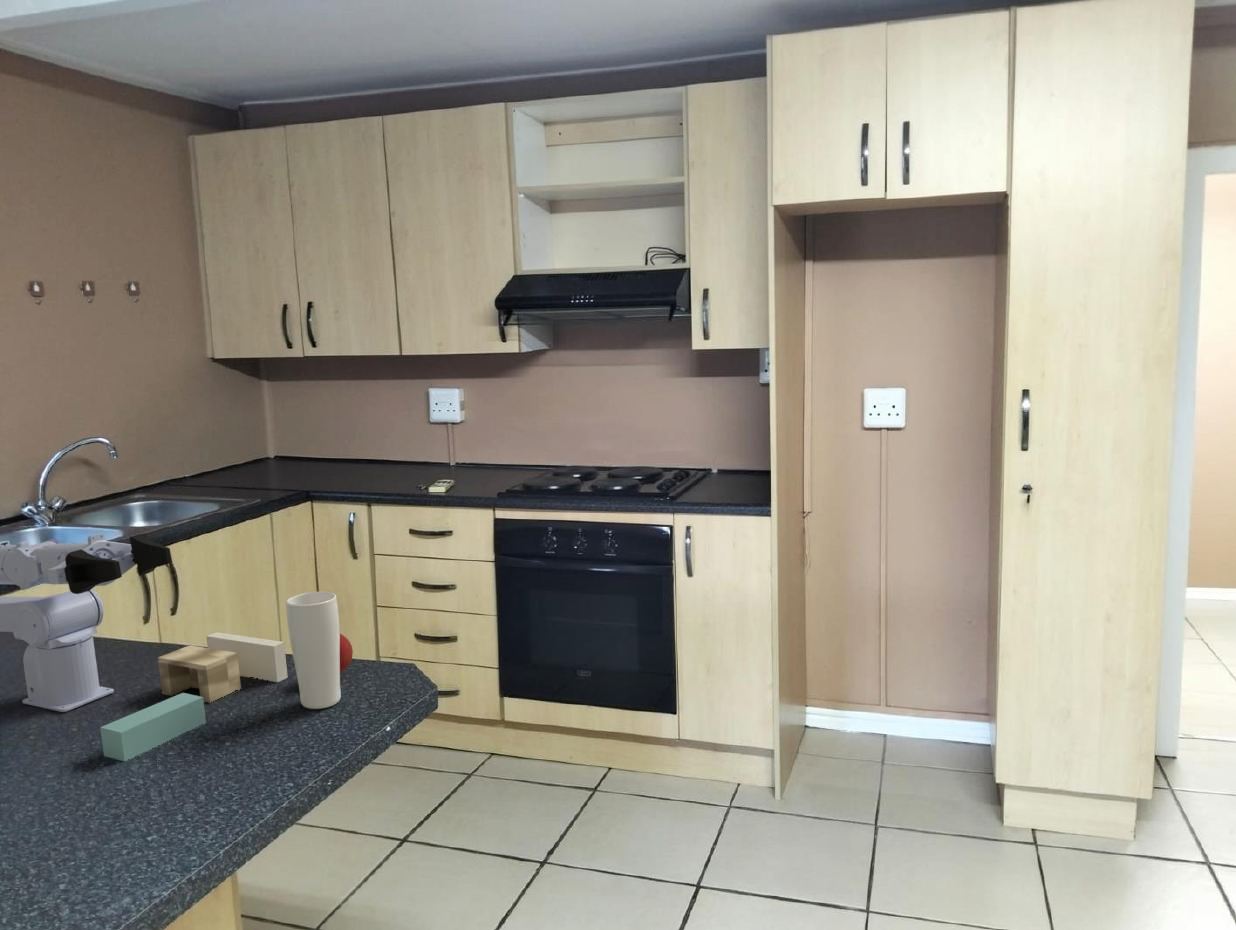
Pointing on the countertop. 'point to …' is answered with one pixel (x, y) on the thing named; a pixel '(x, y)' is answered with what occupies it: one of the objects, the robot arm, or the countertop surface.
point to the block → (200, 672)
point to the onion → (345, 653)
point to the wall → (253, 655)
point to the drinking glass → (315, 647)
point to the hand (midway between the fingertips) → (144, 562)
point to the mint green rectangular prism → (152, 726)
